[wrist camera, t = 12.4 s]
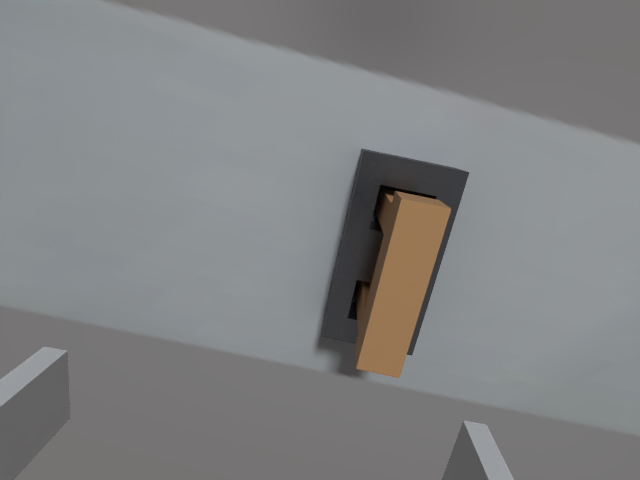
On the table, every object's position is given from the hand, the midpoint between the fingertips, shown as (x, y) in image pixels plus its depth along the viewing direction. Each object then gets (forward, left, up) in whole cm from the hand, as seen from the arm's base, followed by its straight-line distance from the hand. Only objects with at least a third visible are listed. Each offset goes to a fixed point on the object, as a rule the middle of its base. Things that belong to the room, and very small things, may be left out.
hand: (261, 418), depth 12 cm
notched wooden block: (+4, +5, -22) cm, 23 cm away
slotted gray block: (+4, +5, -22) cm, 23 cm away
